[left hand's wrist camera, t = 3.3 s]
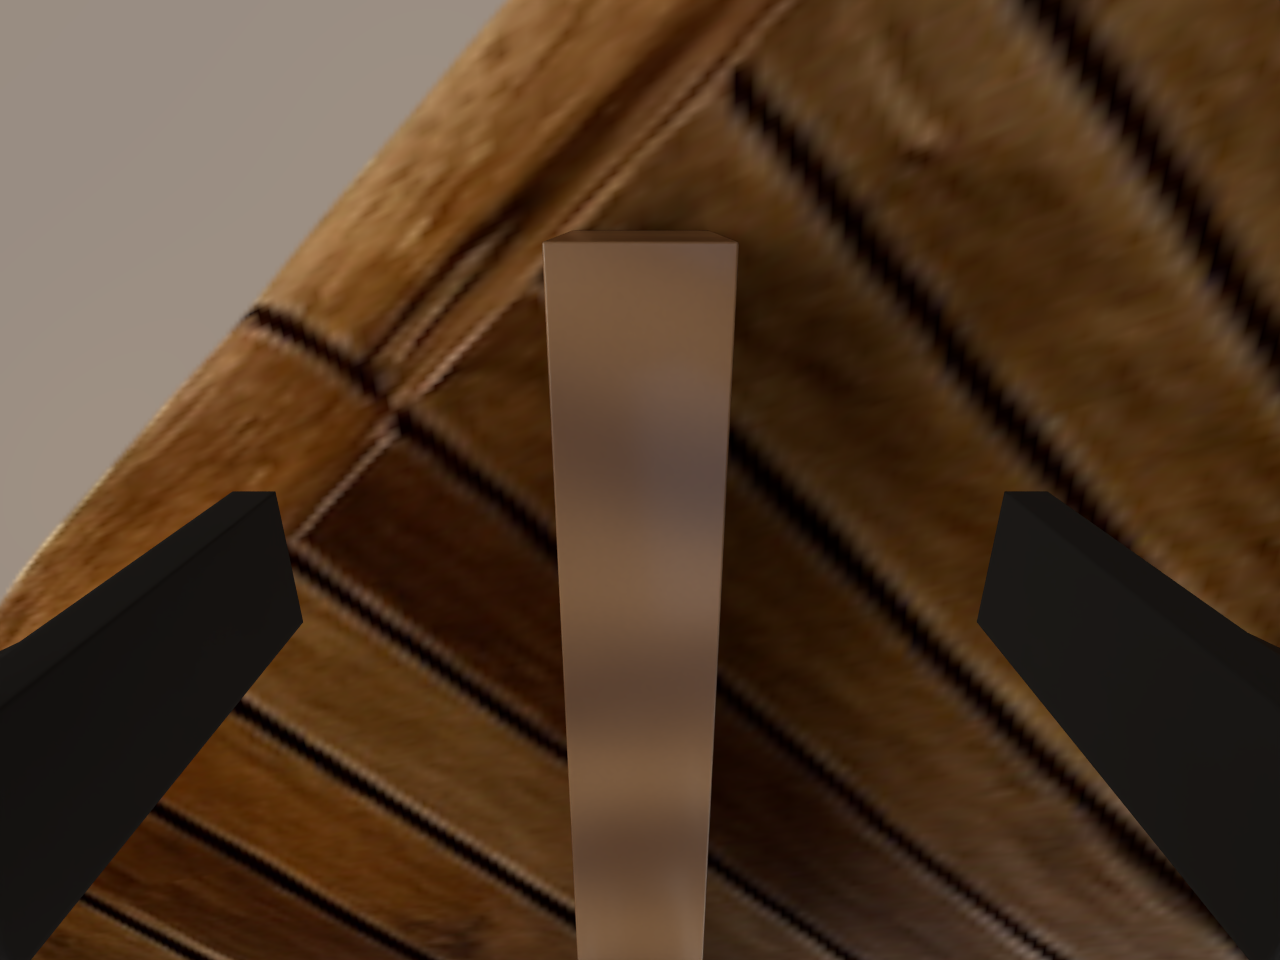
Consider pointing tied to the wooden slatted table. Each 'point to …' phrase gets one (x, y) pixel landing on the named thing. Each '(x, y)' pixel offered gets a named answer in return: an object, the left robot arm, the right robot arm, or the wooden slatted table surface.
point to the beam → (640, 568)
